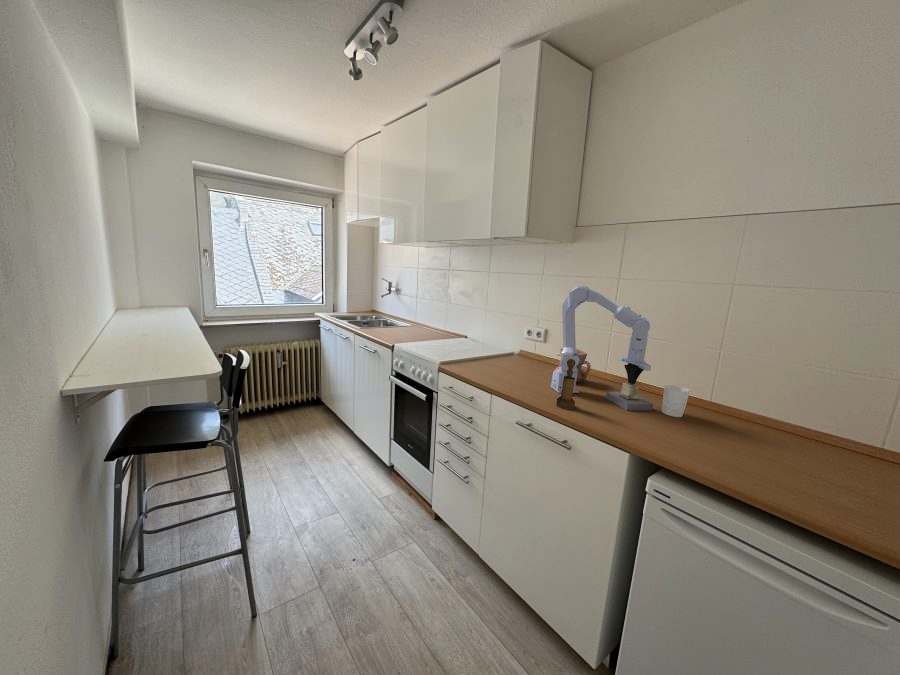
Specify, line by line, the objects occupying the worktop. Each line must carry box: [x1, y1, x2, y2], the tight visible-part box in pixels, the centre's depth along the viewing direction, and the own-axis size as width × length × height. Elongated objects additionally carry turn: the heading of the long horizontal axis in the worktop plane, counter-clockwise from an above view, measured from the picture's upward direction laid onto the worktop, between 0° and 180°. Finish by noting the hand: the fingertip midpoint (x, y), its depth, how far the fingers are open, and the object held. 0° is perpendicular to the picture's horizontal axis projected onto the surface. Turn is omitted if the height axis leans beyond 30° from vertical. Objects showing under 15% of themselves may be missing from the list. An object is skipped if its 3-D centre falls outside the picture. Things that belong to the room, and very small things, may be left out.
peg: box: [620, 382, 640, 400], centre depth 140 cm, size 4×4×8 cm
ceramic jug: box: [554, 347, 592, 383], centre depth 167 cm, size 18×14×14 cm
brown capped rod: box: [555, 359, 576, 410], centre depth 132 cm, size 7×6×18 cm
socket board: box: [605, 391, 654, 411], centre depth 141 cm, size 11×13×2 cm
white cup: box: [661, 384, 691, 418], centre depth 133 cm, size 8×8×10 cm
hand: (631, 383), depth 139 cm, fingers closed
